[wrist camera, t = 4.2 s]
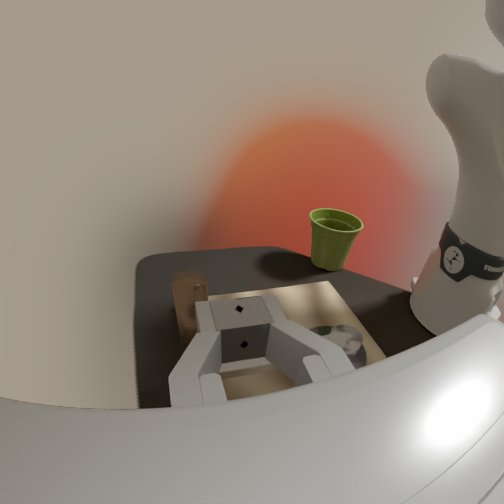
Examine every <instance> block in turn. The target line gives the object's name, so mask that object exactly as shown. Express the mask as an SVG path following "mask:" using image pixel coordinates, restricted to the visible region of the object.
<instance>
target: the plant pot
mask: <svg viewBox="0 0 504 504" xmlns="http://www.w3.org/2000/svg"><path fill="white" fill-rule="evenodd" d="M309 218H310V220H311V226H312V249H311V261H312V263H313V264H314V265H315V266H316V267H318V268H324V269H326V270H327V271H337V270H340V269H342V267H343V266H344V263H345V261H346V259H347V256H348V254H349V251H350V249H351V247H352V244H353V242H354V240H355V238H356V236H357V235H358V233H359V231H361V230H362V228H363V223H362V221H361V220H360V219H359V218H357V217H356V216H354V215H352V214H350V213H347V212H344V211H340V210H336V209H329V208H327V209H326V208H321V209H316V210H313V211H312V212H310V215H309Z"/></svg>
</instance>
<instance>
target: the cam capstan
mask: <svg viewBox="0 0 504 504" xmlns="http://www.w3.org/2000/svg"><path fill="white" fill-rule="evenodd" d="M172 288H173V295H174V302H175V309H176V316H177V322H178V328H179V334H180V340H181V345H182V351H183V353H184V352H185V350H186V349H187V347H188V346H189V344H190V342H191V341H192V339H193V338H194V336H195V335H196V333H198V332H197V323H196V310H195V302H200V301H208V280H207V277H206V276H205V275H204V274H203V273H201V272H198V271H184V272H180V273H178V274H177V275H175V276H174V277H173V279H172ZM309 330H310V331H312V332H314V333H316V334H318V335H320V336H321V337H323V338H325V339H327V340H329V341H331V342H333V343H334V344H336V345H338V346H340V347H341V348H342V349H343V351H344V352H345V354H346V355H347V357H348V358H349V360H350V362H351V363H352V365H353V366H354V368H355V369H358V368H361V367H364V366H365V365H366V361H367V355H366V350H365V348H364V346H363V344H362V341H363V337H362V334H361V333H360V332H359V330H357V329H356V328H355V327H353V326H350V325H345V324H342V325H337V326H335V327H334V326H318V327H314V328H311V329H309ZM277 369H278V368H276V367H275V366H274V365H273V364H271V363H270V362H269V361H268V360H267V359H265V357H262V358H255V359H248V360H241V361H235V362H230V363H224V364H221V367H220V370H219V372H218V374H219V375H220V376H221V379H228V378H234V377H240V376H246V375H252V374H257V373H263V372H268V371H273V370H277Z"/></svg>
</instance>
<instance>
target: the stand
mask: <svg viewBox="0 0 504 504" xmlns="http://www.w3.org/2000/svg"><path fill="white" fill-rule="evenodd" d="M265 294H274V296H275V298H276V299H277V301H278V303H279V305H280V307H281V309H282V310H283V312H284V314H285V316H286V318H287V320H288V321H289V320H292V321H294V322H296V323H298V324H299V325H301V326H303V327H305V328H307V329H311V328H314V327H318V326H334V327H335V326H337V325H342V324H345V325H350V326H353V327H355V328H356V329H357V330H359V332H360V333H361V334H362V337H363V341H362V344H363V346H364V348H365V350H366V355H367V361H366V365H365V366H367V365H370V364H372V363H375V362H378V361H380V360H383V359H386V358H387V357H386V356H385V355H384V353H383V352H382V351H381V349H380V348H379V347H378V345H377V344H376V342H375V341H374V340H373V338H372V337H371V336H370V334H369V333H368V332H367V330H366V329H365V328H364V326H363V325H362V324H361V323H360V321H359V320H358V319H357V317H356V316H355V315H354V313H353V312H352V311H351V309H350V308H349V307H348V306H347V304H346V303H345V302H344V300H343V299H342V298H341V297H340V295H339V294H338V293H337V291H336V290H335V289H334V288H333V286H332V285H331V284H330V283H329V281H324V282H317V283H310V284H303V285H296V286H289V287H281V288H273V289H266V290H258V291H249V292H241V293H232V294H223V295H214V296H208V301H210V300H223V299H235V298H244V297H252V296H260V295H265ZM222 383H223V387H224V390H225V394H226V398H227V401H229V400H235V399H241V398H247V397H252V396H257V395H262V394H267V393H272V392H276V391H281V390H285V389H290V388H293V387H294V384H295V382H294V381H293V380H292V379H290V378H289V377H288V376H286V375H285V374H284V373H283V372H281V371H280V370H279V369H277V370H273V371H268V372H263V373H257V374H252V375H246V376H240V377H234V378H228V379H222Z"/></svg>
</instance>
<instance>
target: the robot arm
mask: <svg viewBox="0 0 504 504" xmlns="http://www.w3.org/2000/svg"><path fill="white" fill-rule="evenodd" d="M485 16H486V20H487V23H488V25H489V28H490V29H491V31H492V33H493V34H494V36H495V37H496V38H497V39H498V41H499V42H500V43H501V44H502V45H503V46H504V0H486V12H485ZM426 92H427V96H428V99H429V102H430V104H431V107H432V108H433V110H434V112H435V113H436V115H437V116H438V117H439V119H440V120H441V121H442V122H443V124H444V125H445V127H446V128H447V130H448V132H449V133H450V135H451V137H452V140H453V142H454V145H455V148H456V151H457V155H458V161H459V181H458V187H457V193H456V198H455V203H454V207H453V210H452V214H451V217H450V221H449V222H447V223H446V225H445V228H444V230H443V232H442V234H441V239H440V242H439V247H436V248H433V249H432V251H431V253H430V255H429V257H428V259H427V261H426V263H425V265H424V267H423V269H422V272H421V274H420V276H419V277H414V278H413V280H412V281H411V287H412V294H411V296H410V306H411V309H412V311H413V313H414V315H415V317H416V318H417V319H418V321H419V322H420V323H421V324H422V325H423V326H424V327H425V328H426V329H428V330H429V331H430V332H432V333H433V334H435V335H436V336H437V337H434V338H432V339H430V340H428V341H426V342H424V343H422V344H419V345H417V346H415V347H412V348H410V349H408V350H405V351H403V352H401V353H398V354H396V355H393V356H391V357H388V358H386V359H383V360H380V361H378V362H375V363H372V364H370V365H367V366H364V367H361V368H358V369H355V368H354V366H353V365H352V363H351V362H350V360H349V358H348V357H347V355H346V354H345V352H344V351H343V349H342V348H341V347H340V346H338V345H336V344H334V343H333V342H331V341H329V340H327V339H325V338H323V337H321V336H320V335H318V334H316V333H314V332H312V331H310V330H309V329H307V328H305V327H303V326H301V325H299V324H298V323H296V322H294V321H292V320H289V321H288V320H287V318H286V316H285V314H284V312H283V310H282V309H281V307H280V305H279V303H278V301H277V299H276V298H275V296H274V294H265V295H260V296H252V297H244V298H235V299H223V300H210V301H200V302H195V310H196V323H197V332H198V333H196V335H195V336H194V338H193V339H192V341H191V342H190V344H189V346H188V347H187V349H186V350H185V352H184V353H183V355H182V356H181V358H180V359H179V361H178V363H177V364H176V366H175V367H174V369H173V370H172V372H171V373H170V375H169V377H168V378H169V389H170V399H171V407H167V408H149V409H90V408H88V409H87V408H73V407H61V406H51V405H43V404H36V403H28V402H22V401H17V400H12V399H6V398H2V397H0V504H504V323H502V322H500V321H499V320H498V319H499V317H500V315H501V313H500V311H499V309H498V307H497V306H496V302H497V301H498V299H499V297H500V295H501V293H502V291H503V287H502V282H501V276H502V274H503V272H504V73H503V72H501V71H499V70H497V69H495V68H493V67H490V66H488V65H486V64H484V63H482V62H480V61H477V60H475V59H471V58H467V57H462V56H457V55H450V54H443V55H441V56H439V57H438V58H437V59H435V60H434V62H433V63H432V64H431V66H430V68H429V70H428V72H427V77H426ZM262 357H265V359H267V360H268V361H269V362H270V363H271V364H273V365H274V366H275V367H276V368H278V369H279V370H280V371H281V372H283V373H284V374H285V375H286V376H288V377H289V378H290V379H292V380H293V381H294V382H295V384H294V387H293V388H290V389H285V390H281V391H276V392H272V393H267V394H262V395H257V396H252V397H247V398H241V399H235V400H229V401H227V398H226V394H225V390H224V387H223V383H222V379H221V376H220V375H219V374H218V372H219V370H220V367H221V364H224V363H230V362H235V361H241V360H248V359H255V358H262Z"/></svg>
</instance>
